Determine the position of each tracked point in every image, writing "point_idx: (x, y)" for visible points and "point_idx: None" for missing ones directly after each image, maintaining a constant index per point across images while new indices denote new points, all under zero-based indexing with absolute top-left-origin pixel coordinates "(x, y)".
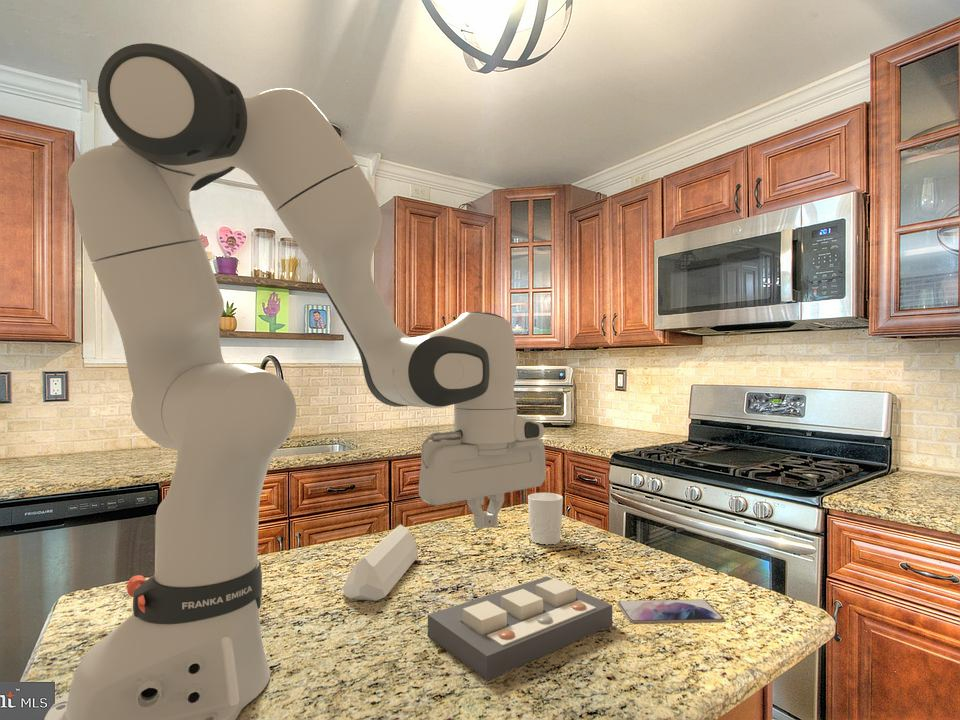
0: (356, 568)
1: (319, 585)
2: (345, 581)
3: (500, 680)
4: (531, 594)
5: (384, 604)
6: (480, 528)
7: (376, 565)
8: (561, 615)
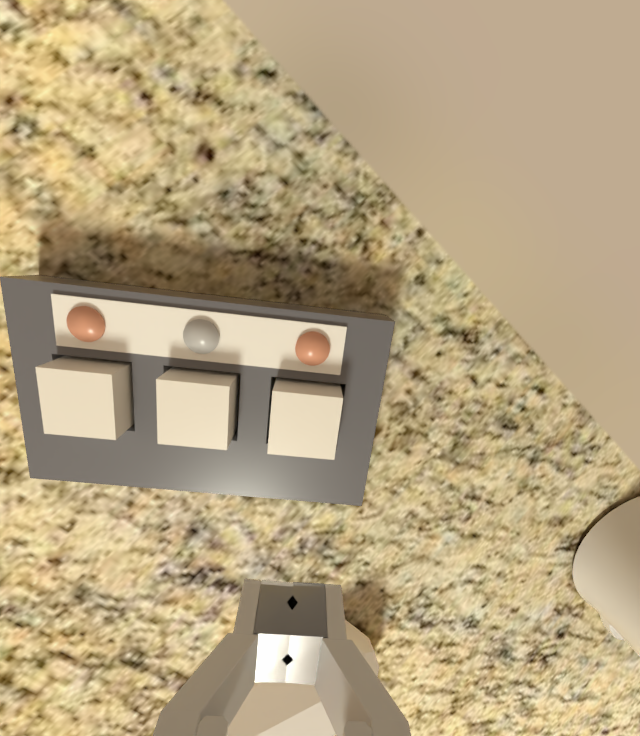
0: None
1: None
2: None
3: (367, 300)
4: (163, 411)
5: None
6: (340, 587)
7: None
8: (152, 325)
